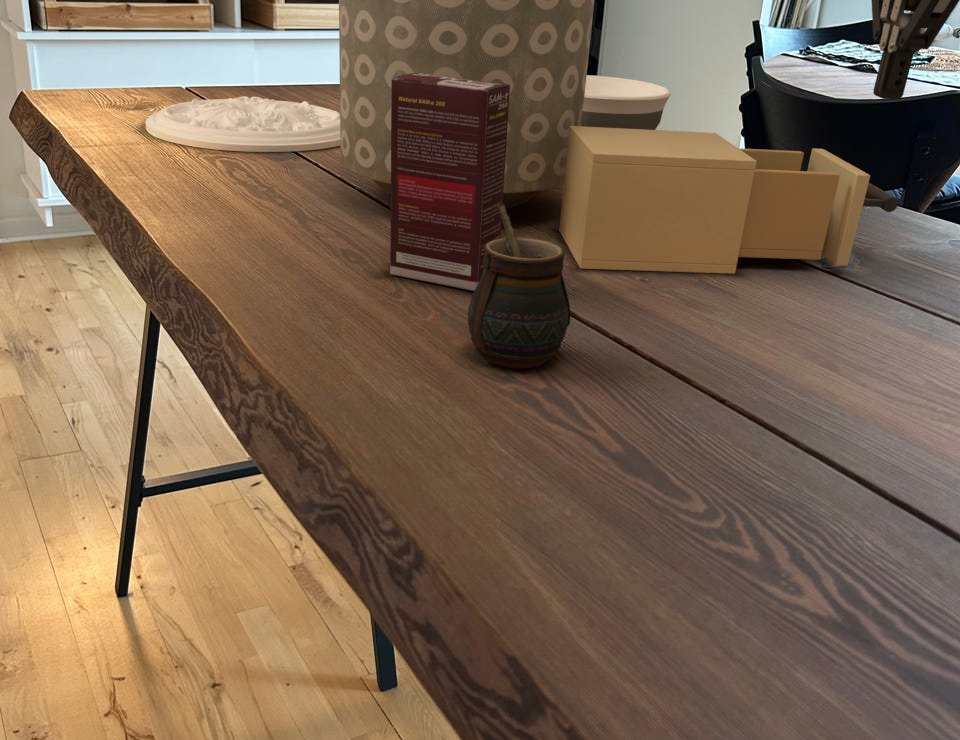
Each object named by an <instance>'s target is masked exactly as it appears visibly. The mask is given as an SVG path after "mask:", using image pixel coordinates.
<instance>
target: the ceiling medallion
mask: <svg viewBox="0 0 960 740" xmlns="http://www.w3.org/2000/svg"><path fill="white" fill-rule="evenodd" d="M145 130H146V132H147V133H148V134H149V135H151V136H153V137H155V138H157V139H159V140H163V141H166V142H169V143H174V144H177V145H182V146H186V147H188V146H189V147H193V148H201V149H208V150H209V149H210V150H216V151H227V152H228V151H229V152H248V153H287V152H288V153H289V152H304V151H305V152H306V151H315V150H324V149H330V148H335V147H340V111H336V110H334V109H330V108H328V107H325V106H324V107H323V106H318V105H315V104H310V103H309V102H308V101H306V100H304V101H303V100H302V102H296V101H295V102H294V101H286V100H275V99H274V98H271V99H269V98H262V97H261V96H251V97H249V96H246V95H244V96H243V95H242V96H239V97H234V98H232V97H229V98H217V99H216V98H214V99H201V100H200V99H198V98H196V97H194V98H193V99H192V100H191V101H185V102H179V103H174V104H171V105H168V106H165V107H164V108H162V109H160V110H158V111H156V112H154V113H152V114H151V115H150V116H148V117H147V118H146V119H145Z"/></svg>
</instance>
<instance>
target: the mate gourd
mask: <svg viewBox="0 0 960 740" xmlns="http://www.w3.org/2000/svg"><path fill="white" fill-rule="evenodd" d="M497 206H498V208H499V211H500V214H501V218H502V220H501V224H503V227H504V230H505V233H506V237H505V238H500V239H497V240H493V241H491V242H489V243H487V244H486V245H485V247H484V259H483V263H484V270H483V273H482V276H481V279H480V281H479V283H478V285H477V287H476V289H475V291H473V293H472V296H471V298H470V301H469V305H468V308H467V325H468V330H469V333H470V340H471V342H472V345H473V346H474V348H475V349H476V351H477V352H478V354H479V355H480V356H481V357H482V358H483V361H487V364H492V365H496V366H498V367H500V368H501V367H502V368H506V369H507V368H508V369H515V370H516V369H519V370H523V369H534V368H538V367H540V366H542V365H543V364H545V363H546V362H548V361H549V360H551V359H552V358H553V357H554V356H555V355H556V354H557V353H558V352H559V350H560V349H561V347H562V342H563V340H564V339H565V337H566V333H567V331H568V327H569V325H570V324H571V305H570V299H569V297H568V292H567V288H566V284H565V281H564V277H563V273H562V271H563V269H564V259H565V250H564V249H563V248H561V247H560V246H559V245H557V244H555V243H552V242H549V241H546V240H541V239H536V238H535V239H534V238H525V237H516V234H515V230H514V228H513V226H512V222H511V219H510V215H508V211H507V209H506V208H505V204H503V205H498V204H497Z"/></svg>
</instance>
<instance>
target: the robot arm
mask: <svg viewBox="0 0 960 740" xmlns="http://www.w3.org/2000/svg"><path fill="white" fill-rule="evenodd" d="M959 2H960V0H871V19H872V37H873V41H875V42H876V41H877V42H879V50H880V51H882V53H881V57H880V60H879V61H880V62H879V65H878V66H879V67H878V70H877V75H876V78H875V82H874V87H873V91H872V92H873V95H875V96H876V97H878V98H881V99H883V100H900V99H901V98H902V97H903V96H904V93H905V90H906V85H907V81H908V78H909V77H908V76H909V73H910V69H911V66H912V62H913V58H914V56H915V55H918V54H919V52H920V50H929V48H930V47H931V45H932V44H933V42H934V41H935V39H936V38H937V36H938V35H939V33H940V31H941V30H942V28H943V27H944V26H945V24H946V22H947V21H948V19H949V18H950V16H951V15H952V13H953V11H954V10H955V8H956V7H957V5H958V3H959Z"/></svg>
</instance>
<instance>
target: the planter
mask: <svg viewBox="0 0 960 740" xmlns="http://www.w3.org/2000/svg"><path fill="white" fill-rule="evenodd" d="M594 7H595V0H338V42H339V43H338V44H339V46H338V47H339V48H338V49H339V51H338V52H339V53H338V54H339V55H338V56H339V113H340V146H339V148H340V151H339V152H340V154H339V155H340V163H341V164H342V167H344V168H345V169H346V170H348V171H350V172H352V173H353V174H356V175H358V176H360V177H363V178H366V179H369V180H371V181H373V182H374V183H375V184H376V185H377V186H379V187H380V188H381V189H382V190H383V191H385V192H386V193H388V194H389V195H391V97H392V90H391V87H392V81H391V79H392V78H394V77H397V76H401V75H405V74H411V73H423V74H431V75H438V76H446V77H455V78H463V79H471V80H479V81H487V82H495V83H503V84H509V85H510V94H509V110H508V127H507V143H506V158H505V175H504V190H503V204H505V208H506V210H508V209H511V208H514V207H516V206H518V205H520V204H524V203H525V202H527V201H529V200H531V199H533V198H534V197H536V196H537V195H539V194H540V193H541V192H542V191H545V190H549V189H554V188H557V187H561V186H564V177H565V167H566V157H567V147H568V137H569V127H570V126H581V123H582V114H583V104H584V95H585V85H586V76H587V75H588V66H589V54H590V46H591V38H592V37H591V36H592V29H593V28H592V26H593V17H594V10H595V9H594Z"/></svg>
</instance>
